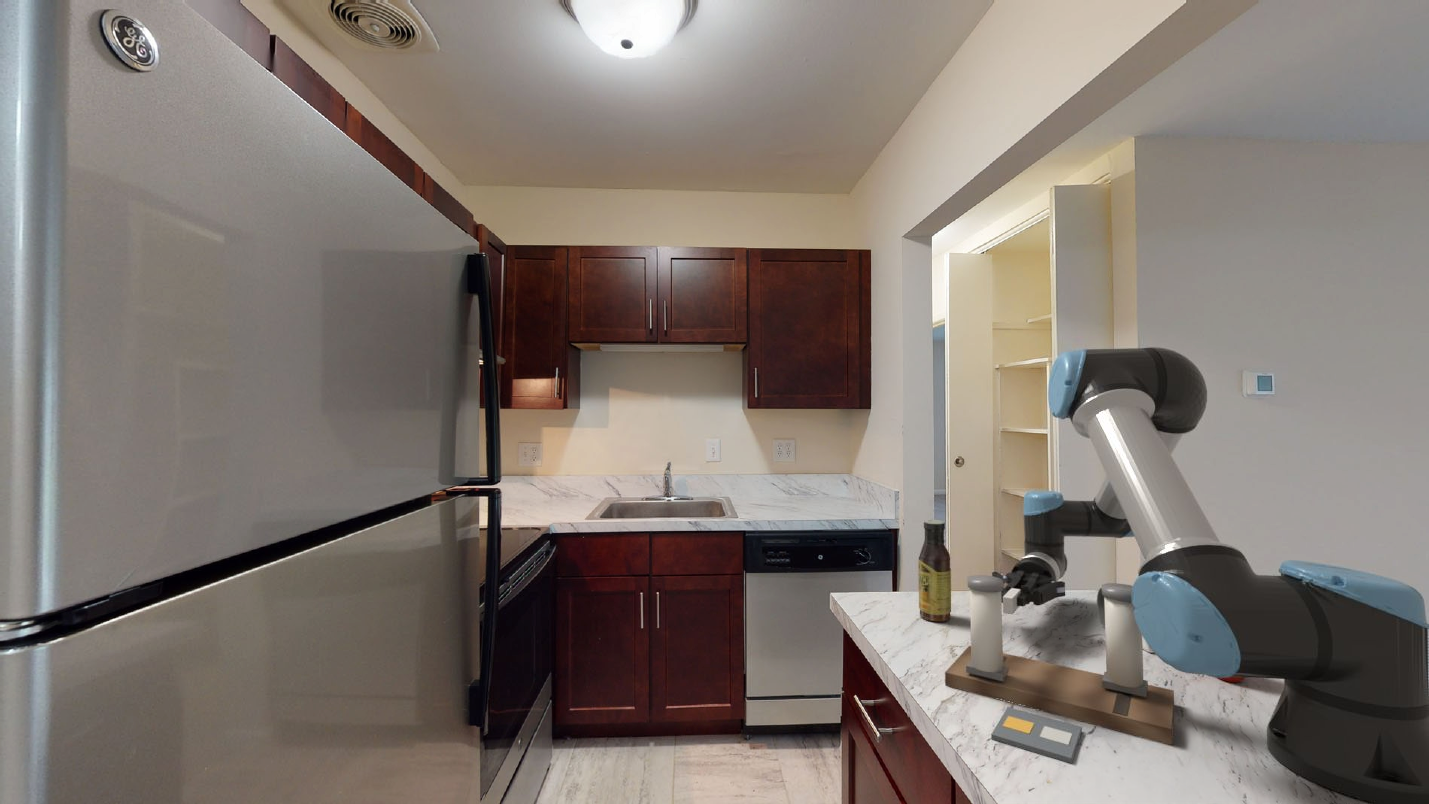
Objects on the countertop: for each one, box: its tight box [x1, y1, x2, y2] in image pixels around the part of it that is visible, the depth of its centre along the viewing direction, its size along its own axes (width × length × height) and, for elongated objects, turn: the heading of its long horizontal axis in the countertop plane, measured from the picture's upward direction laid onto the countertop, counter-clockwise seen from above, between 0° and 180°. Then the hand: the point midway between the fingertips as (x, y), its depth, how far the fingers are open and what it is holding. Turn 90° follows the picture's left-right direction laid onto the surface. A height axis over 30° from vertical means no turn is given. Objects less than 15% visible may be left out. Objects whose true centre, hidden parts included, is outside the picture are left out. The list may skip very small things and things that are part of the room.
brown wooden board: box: [944, 645, 1175, 746], centre depth 90 cm, size 28×13×2 cm, turn 52°
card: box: [990, 706, 1083, 764], centre depth 79 cm, size 9×9×1 cm
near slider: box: [1101, 582, 1149, 697], centre depth 86 cm, size 5×5×14 cm
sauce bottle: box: [917, 519, 952, 623], centre depth 123 cm, size 6×6×20 cm
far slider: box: [966, 574, 1009, 681], centre depth 92 cm, size 5×5×14 cm
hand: (1007, 605), depth 103 cm, fingers closed
